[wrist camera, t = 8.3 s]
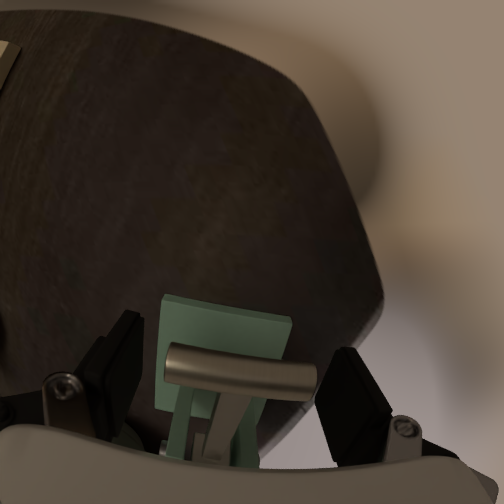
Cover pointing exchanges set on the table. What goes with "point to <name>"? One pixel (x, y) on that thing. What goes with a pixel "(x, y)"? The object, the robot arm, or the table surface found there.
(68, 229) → the table surface
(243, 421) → the green lever stand
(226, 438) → the lever handle
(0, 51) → the block
